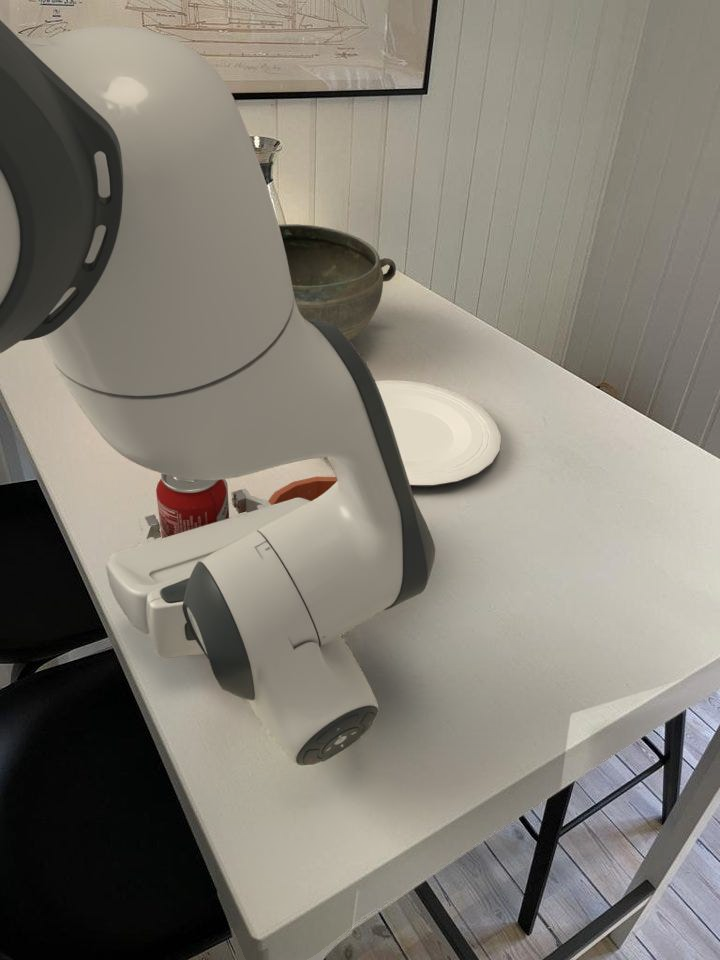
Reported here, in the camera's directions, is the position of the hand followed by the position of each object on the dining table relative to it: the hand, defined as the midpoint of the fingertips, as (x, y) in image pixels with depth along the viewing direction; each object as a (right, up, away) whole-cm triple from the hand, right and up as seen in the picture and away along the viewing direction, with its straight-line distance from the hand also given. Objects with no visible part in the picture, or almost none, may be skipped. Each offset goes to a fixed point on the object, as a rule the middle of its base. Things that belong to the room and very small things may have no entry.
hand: (193, 507), depth 74 cm
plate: (+22, +8, +26) cm, 35 cm away
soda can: (0, -6, +4) cm, 8 cm away
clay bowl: (+13, -6, +6) cm, 16 cm away
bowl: (+6, +25, +46) cm, 53 cm away
